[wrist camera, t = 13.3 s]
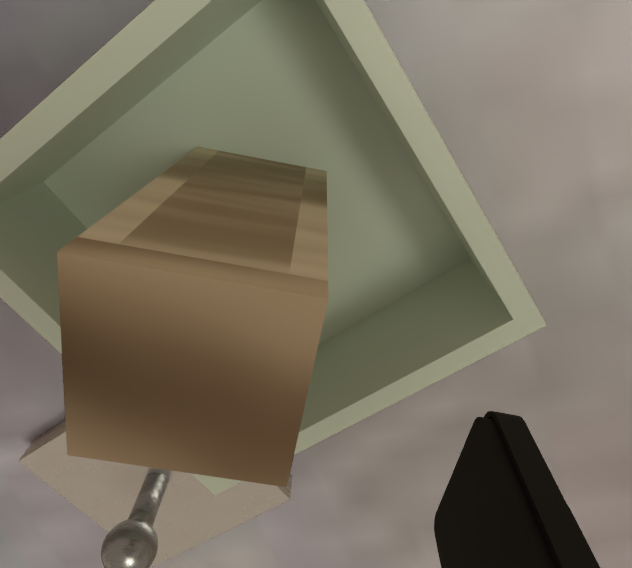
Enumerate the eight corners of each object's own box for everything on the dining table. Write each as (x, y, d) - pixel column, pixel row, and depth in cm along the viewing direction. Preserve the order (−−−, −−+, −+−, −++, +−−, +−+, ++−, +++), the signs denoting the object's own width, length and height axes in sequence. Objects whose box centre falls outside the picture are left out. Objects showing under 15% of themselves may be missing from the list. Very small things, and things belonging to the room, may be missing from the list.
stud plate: (171, 353, 24) (121, 452, 18) (292, 477, 27) (282, 595, 21) (34, 439, 26) (-51, 552, 20) (160, 543, 30) (119, 664, 24)
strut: (198, 146, 18) (56, 251, 9) (326, 171, 19) (328, 298, 9) (188, 264, 21) (67, 455, 11) (304, 284, 21) (286, 487, 11)
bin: (304, -66, 16) (293, -125, 11) (489, 255, 21) (547, 325, 16) (25, 172, 20) (-87, 217, 14) (239, 398, 25) (214, 495, 19)
